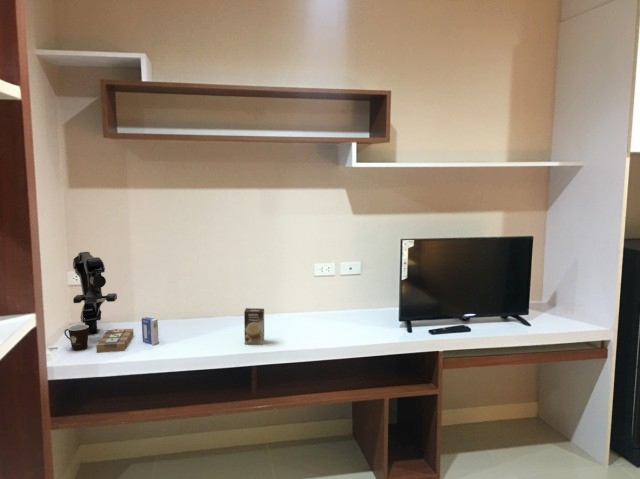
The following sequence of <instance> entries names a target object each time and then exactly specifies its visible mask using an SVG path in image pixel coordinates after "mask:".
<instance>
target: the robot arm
mask: <svg viewBox="0 0 640 479" xmlns="http://www.w3.org/2000/svg"><path fill="white" fill-rule="evenodd" d="M72 268H73V270H74V273H75V274H76V275H77V276H78V277H79V281H80V287H81V292H82V294H76V295H75V296H74V297H73V300H72V303H73V304H81V303H82V302H83V303H84V304H83V306H82V308H81V313H80V317H79V318H80V322H81V323H82V324H84V325H88V326H89V330H88V335H97V334H98V333H99V331H100V329H99V328H98V321H101V320H102V310H101V306H102V304H104V302H105V301H106V302H108V303H109V302H110V303H111V302H116V301H117V300H118V294H117V293H107V294H106V295H103V292H102V288H103V287H105V286H106V283H107V280H106V277H104V276H103V275H102V273H105V270H106V267H105V264H104V262H103V260H102V259H101V258H100V257H97V256H96V257H95V256H93V255H91V252H89V251H81V252H78V254H77V256H76V257H74V258H73V260H72Z"/></svg>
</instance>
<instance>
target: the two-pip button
mask: <svg viewBox="0 0 640 479" xmlns="http://www.w3.org/2000/svg"><path fill="white" fill-rule="evenodd" d="M125 329H126V328H116V329H115V328H114V329H113V330H114V331H113V332H112V334H120V333H124V332H125Z"/></svg>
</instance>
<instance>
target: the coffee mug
mask: <svg viewBox="0 0 640 479" xmlns="http://www.w3.org/2000/svg"><path fill="white" fill-rule="evenodd" d="M88 330H89V326H88V325H85V324H76V325H72V326H69V327H68V328H66V329H64V335H65V337H66V338H67V339H68V340H69V341H70V345H71V349H72V351H74V352H77V351H78V352H80V351H85V350H87V349H88V347H89V346H88V344H89V341H88V340H89V334H88ZM67 331H68V335H69V336H68V335H67Z"/></svg>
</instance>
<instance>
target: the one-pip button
mask: <svg viewBox="0 0 640 479" xmlns="http://www.w3.org/2000/svg"><path fill="white" fill-rule="evenodd" d="M118 341H119V338H110V339H107V341H106V344H107V343H118Z"/></svg>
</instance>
